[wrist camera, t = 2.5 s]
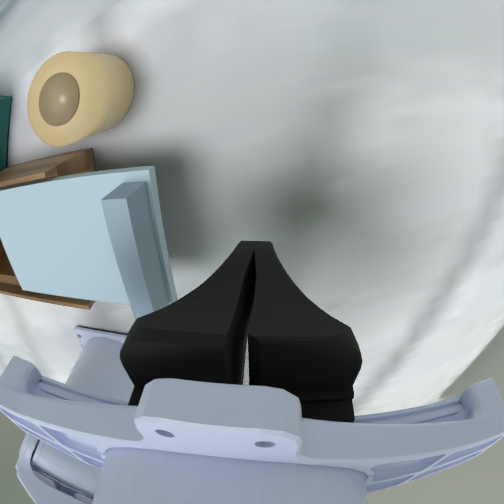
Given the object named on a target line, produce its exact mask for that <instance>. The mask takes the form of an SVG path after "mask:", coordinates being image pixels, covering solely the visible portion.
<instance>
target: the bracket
mask: <svg viewBox="0 0 504 504" xmlns="http://www.w3.org/2000/svg"><path fill="white" fill-rule="evenodd" d="M11 99H12V97H9V96H0V171H2V170H4V169H6V156H7V136H8V124H9V114H10V106H11Z"/></svg>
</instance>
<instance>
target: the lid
mask: <svg viewBox="0 0 504 504" xmlns="http://www.w3.org/2000/svg"><path fill="white" fill-rule="evenodd" d="M0 238H1V241H2V243H3V246H4V249H5V251H6V254H7V256H8V259H9V261H10V263H11V266H12V268H13V270H14V273H15V275H16V277H17V279H18V281H19V283H20V286H21V288H22V290H25V291H31V292H37V293H43V294H50V295H56V296H63V297H70V298H77V299H85V300H93V301H101V302H109V303H118V304H127V305H131V308H132V311H133V313H134V316H135V319H137V318H139V317H142V316H144V315H147V314H149V313H152V312H154V311H157V310H159V309H161V308H164V307H166V306H168V305H170V304H172V303H173V302H175V301H177V300H178V299H177V294H176V290H175V285H174V280H173V275H172V271H171V265H170V260H169V255H168V250H167V244H166V239H165V233H164V227H163V221H162V215H161V208H160V202H159V195H158V188H157V180H156V173H155V166H142V167H131V168H121V169H111V170H103V171H94V172H87V173H79V174H72V175H66V176H59V177H53V178H47V179H42V180H36V181H31V182H26V183H21V184H16V185H11V186H7V187H2V188H0Z"/></svg>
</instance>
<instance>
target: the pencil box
mask: <svg viewBox="0 0 504 504" xmlns="http://www.w3.org/2000/svg"><path fill="white" fill-rule="evenodd" d="M94 171H95V166H94V160H93V153H92V148H90V149H85V150H79V151H74V152H69V153H64V154H59V155H55V156H50V157H46V158H42V159H38V160H34V161H30V162H26V163H22V164H18V165H15V166H11V167H8V168H6V169H4V170H2V171H0V188H2V187H7V186H11V185H16V184H21V183H26V182H31V181H36V180H42V179H47V178H53V177H59V176H66V175H72V174H79V173H87V172H94ZM0 293H2V294H6V295H11V296H15V297H20V298H25V299H30V300H35V301H41V302H46V303H52V304H57V305H63V306H69V307H76V308H82V309H89V310H90V308H91V307H92V305H93V304H94V302H95V301H93V300H85V299H77V298H70V297H63V296H56V295H50V294H43V293H37V292H31V291H25V290H22V288H21V286H20V283H19V281H18V279H17V277H16V275H15V273H14V270H13V268H12V266H11V263H10V261H9V259H8V256H7V254H6V251H5V249H4V246H3V243H2V241H1V238H0Z"/></svg>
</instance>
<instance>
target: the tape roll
mask: <svg viewBox="0 0 504 504" xmlns="http://www.w3.org/2000/svg"><path fill="white" fill-rule="evenodd" d="M133 96H134V78H133V74H132V72H131V69H130V68H129V66H128V65H127V63H126V62H125V61H124V60H122V59H121V58H119V57H118V56H115V55H111V54H102V53H89V52H61V53H58V54H56V55H54V56H52V57H51V58H49V59H48V60H47V61H46V62H45V63H44V64H43V65H42V66H41V67H40V68H39V70H38V71H37V73H36V75H35V76H34V79H33V81H32V83H31V86H30V90H29V94H28V115H29V120H30V123H31V125H32V128H33V130H34V131H35V133H36V134H37V136H38V137H39V138H40V139H41V140H42V141H44V142H45V143H47V144H49V145H52V146H66V145H69V144H71V143H74V142H76V141H78V140H81V139H83V138H86V137H88V136H91V135H94V134H96V133H99V132H102V131H104V130H107V129H109V128H112V127H113V126H115V125H116V124H118V123H119V122H120V121H121V120H122V119H123V118H124V116H125V115H126V114H127V112H128V110H129V108H130V106H131V103H132V101H133Z"/></svg>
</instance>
